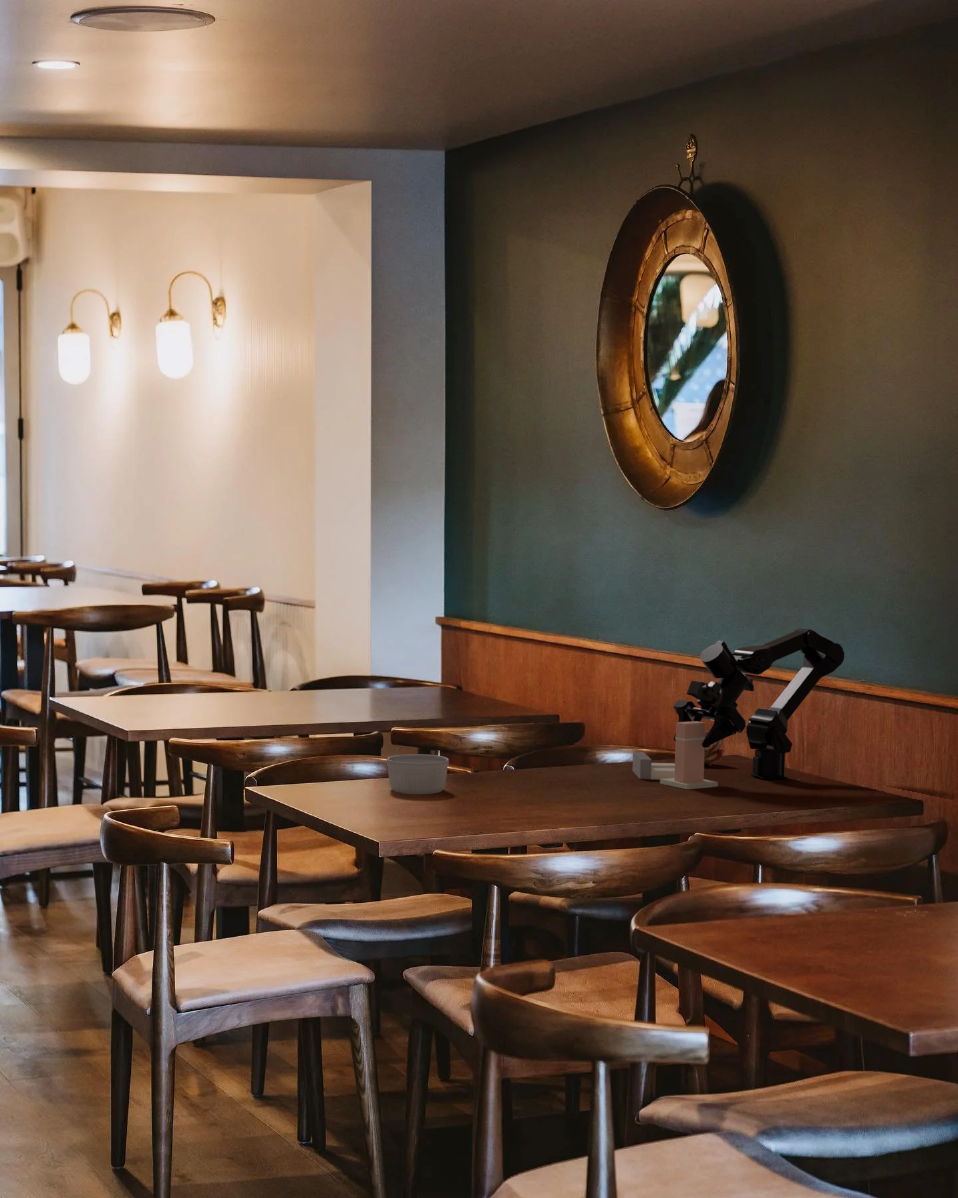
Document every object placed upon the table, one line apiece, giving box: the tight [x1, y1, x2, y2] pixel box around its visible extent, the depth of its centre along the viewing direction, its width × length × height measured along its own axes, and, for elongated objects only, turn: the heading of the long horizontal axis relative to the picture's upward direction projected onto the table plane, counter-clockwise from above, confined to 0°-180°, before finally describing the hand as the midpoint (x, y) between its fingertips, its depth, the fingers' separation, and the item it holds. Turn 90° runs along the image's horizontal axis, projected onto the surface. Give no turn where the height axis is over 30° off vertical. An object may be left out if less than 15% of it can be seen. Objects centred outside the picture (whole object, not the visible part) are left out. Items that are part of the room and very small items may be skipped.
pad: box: [659, 778, 719, 790], centre depth 362 cm, size 9×9×1 cm
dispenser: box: [632, 751, 675, 780], centre depth 375 cm, size 12×12×4 cm
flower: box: [704, 729, 725, 767], centre depth 394 cm, size 10×9×8 cm
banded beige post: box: [674, 721, 706, 783], centre depth 361 cm, size 6×3×13 cm, turn 125°
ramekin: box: [386, 753, 450, 795], centre depth 345 cm, size 13×13×7 cm
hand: (688, 743), depth 361 cm, fingers open, 9 cm apart
